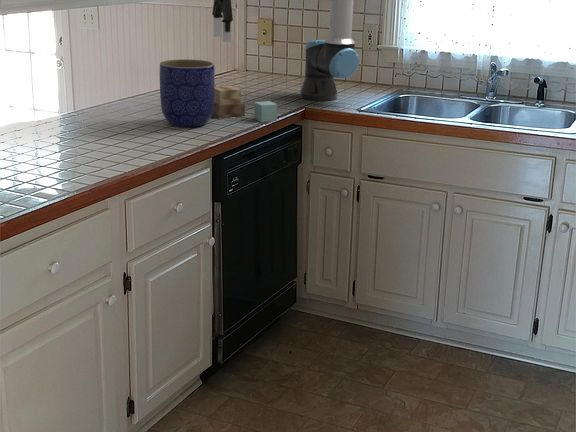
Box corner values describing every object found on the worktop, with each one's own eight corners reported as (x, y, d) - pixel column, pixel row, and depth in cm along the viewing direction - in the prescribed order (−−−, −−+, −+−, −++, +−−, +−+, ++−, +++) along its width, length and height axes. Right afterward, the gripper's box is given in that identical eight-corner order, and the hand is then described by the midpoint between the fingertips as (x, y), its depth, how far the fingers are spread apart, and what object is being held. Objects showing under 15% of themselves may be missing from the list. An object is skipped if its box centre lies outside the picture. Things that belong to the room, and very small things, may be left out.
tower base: (233, 112, 300) (233, 98, 299) (244, 117, 292) (244, 103, 290) (208, 114, 296) (208, 100, 294) (218, 119, 288) (218, 105, 286)
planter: (200, 132, 267) (199, 69, 260) (150, 126, 273) (149, 64, 266) (223, 121, 284) (223, 61, 277) (176, 115, 289) (175, 57, 283)
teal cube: (269, 117, 292) (269, 101, 290) (276, 121, 287) (277, 104, 285) (254, 118, 289) (254, 102, 287) (261, 122, 284) (261, 105, 282)
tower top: (232, 99, 297) (232, 85, 296) (240, 103, 291) (240, 89, 289) (211, 100, 294) (211, 86, 292) (219, 104, 287) (219, 90, 286)
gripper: (204, -26, 291) (204, 34, 298) (220, -22, 268) (219, 43, 275) (224, -26, 293) (224, 34, 300) (242, -22, 271) (241, 43, 277)
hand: (222, 39), depth 288 cm, fingers open, 13 cm apart
